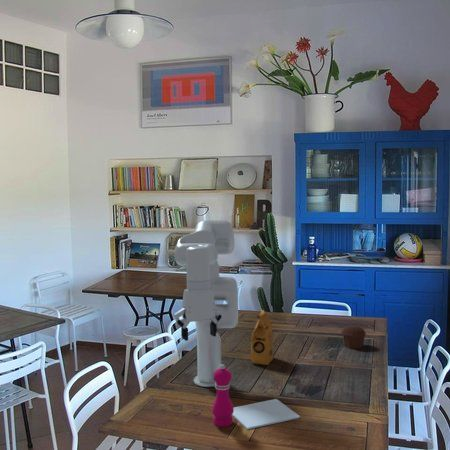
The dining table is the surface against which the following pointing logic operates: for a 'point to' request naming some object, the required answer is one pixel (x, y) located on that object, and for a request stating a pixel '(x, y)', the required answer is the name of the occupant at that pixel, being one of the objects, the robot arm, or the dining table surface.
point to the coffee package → (262, 341)
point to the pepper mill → (222, 398)
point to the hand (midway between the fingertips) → (199, 337)
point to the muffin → (353, 336)
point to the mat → (263, 414)
